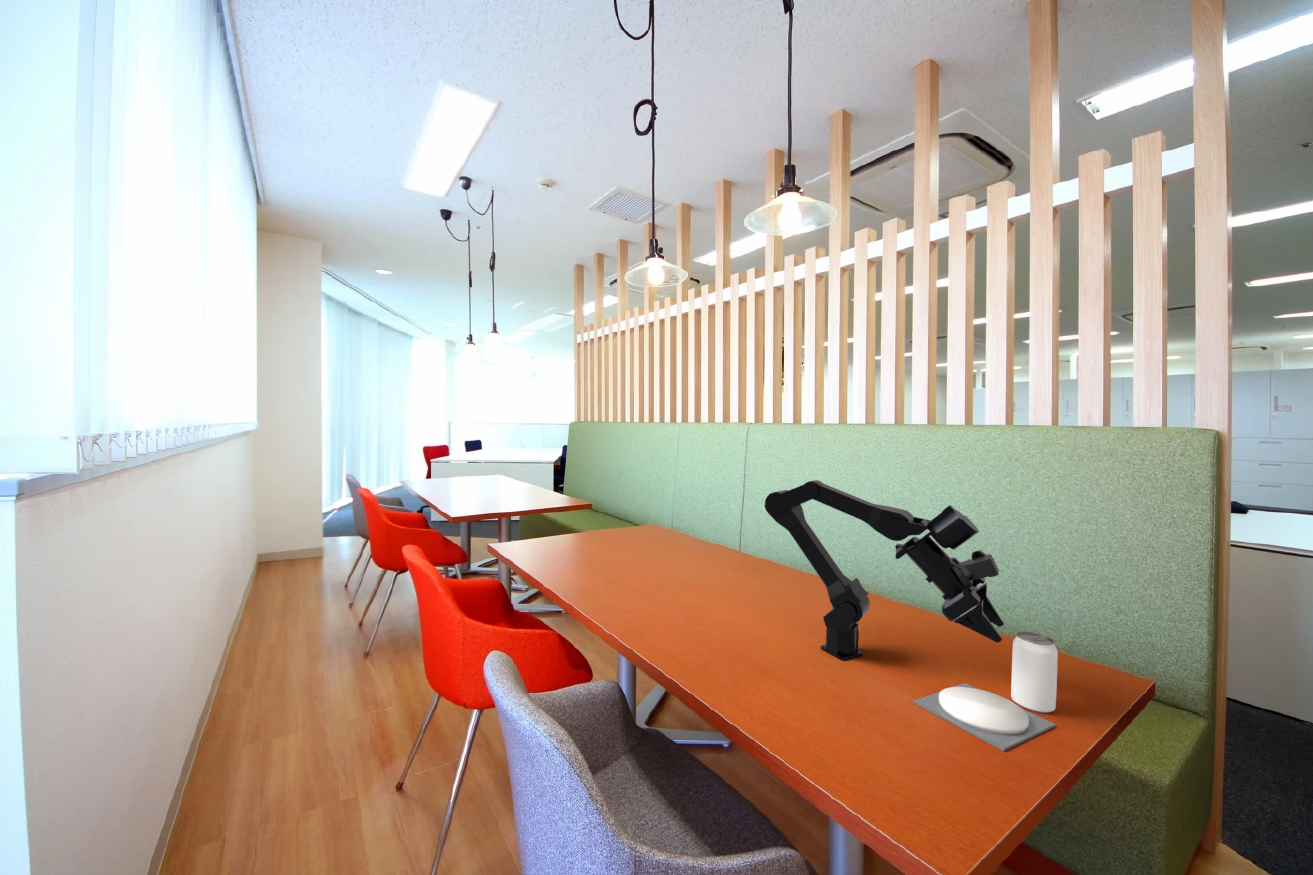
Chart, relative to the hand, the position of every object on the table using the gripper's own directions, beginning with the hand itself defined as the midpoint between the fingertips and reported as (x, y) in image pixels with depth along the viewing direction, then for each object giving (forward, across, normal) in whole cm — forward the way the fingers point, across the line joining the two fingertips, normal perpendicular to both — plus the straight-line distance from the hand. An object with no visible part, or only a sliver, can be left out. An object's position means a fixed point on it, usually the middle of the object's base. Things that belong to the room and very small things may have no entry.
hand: (1001, 633), depth 94 cm
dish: (+7, -10, +10) cm, 15 cm away
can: (+12, 0, +5) cm, 13 cm away
